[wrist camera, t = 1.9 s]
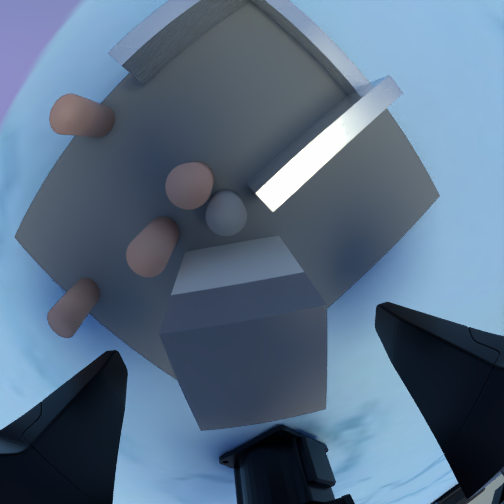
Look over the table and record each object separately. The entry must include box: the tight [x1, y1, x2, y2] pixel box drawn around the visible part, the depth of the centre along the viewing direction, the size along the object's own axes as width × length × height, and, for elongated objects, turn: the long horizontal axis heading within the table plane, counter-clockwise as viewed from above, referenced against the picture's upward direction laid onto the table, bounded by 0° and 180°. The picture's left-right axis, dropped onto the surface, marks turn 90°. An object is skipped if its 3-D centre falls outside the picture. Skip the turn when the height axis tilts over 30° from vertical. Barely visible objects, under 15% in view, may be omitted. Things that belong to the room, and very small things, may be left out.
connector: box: [159, 235, 327, 431], centre depth 10 cm, size 4×4×6 cm
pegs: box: [47, 94, 247, 338], centre depth 11 cm, size 9×14×3 cm, turn 43°
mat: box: [15, 2, 440, 380], centre depth 12 cm, size 17×14×1 cm
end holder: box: [108, 0, 403, 212], centre depth 9 cm, size 7×8×3 cm
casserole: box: [437, 485, 485, 504], centre depth 41 cm, size 25×19×8 cm
